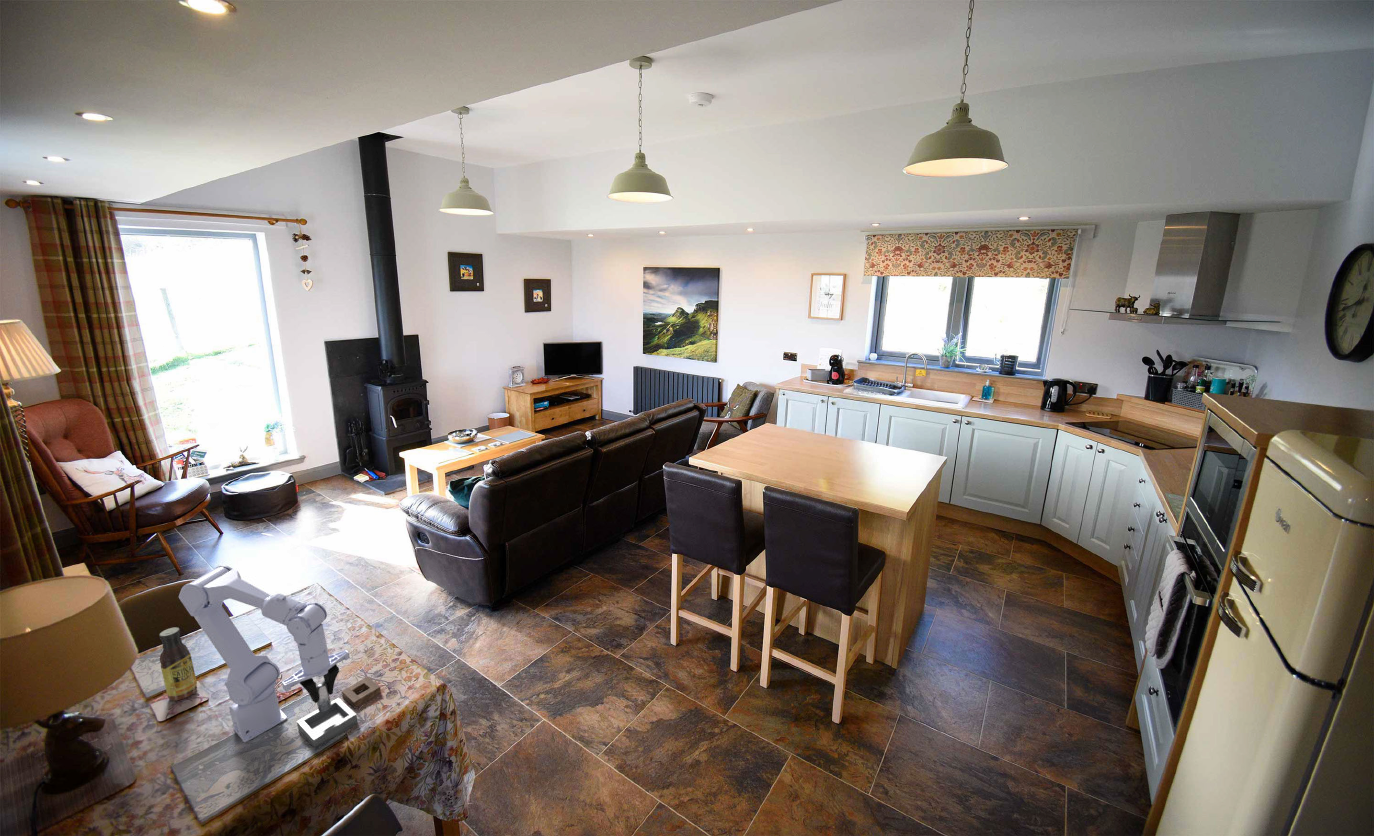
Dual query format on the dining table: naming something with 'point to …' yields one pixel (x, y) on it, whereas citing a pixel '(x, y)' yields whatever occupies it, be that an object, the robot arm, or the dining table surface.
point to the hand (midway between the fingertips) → (322, 696)
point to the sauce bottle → (176, 666)
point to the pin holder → (352, 691)
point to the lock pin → (323, 696)
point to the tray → (327, 723)
